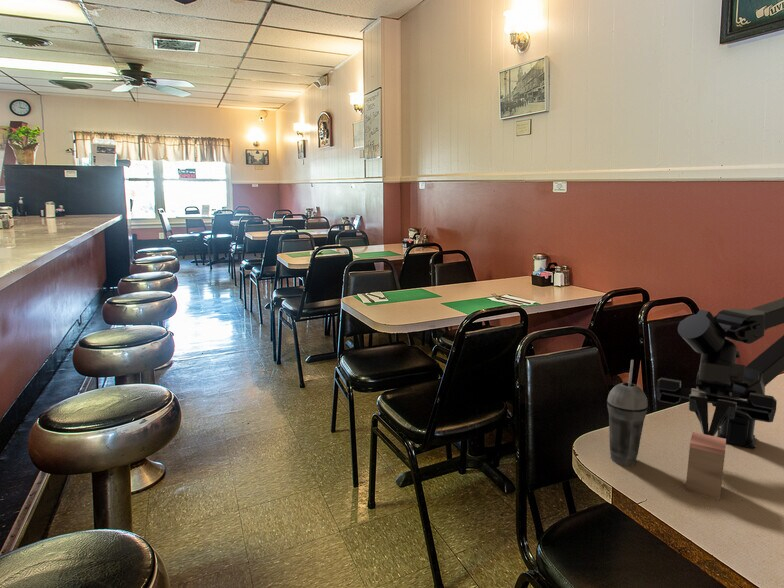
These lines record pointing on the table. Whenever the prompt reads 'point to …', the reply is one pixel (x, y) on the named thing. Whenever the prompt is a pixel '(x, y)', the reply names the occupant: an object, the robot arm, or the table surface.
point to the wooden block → (705, 465)
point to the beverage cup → (626, 420)
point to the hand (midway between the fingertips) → (707, 440)
